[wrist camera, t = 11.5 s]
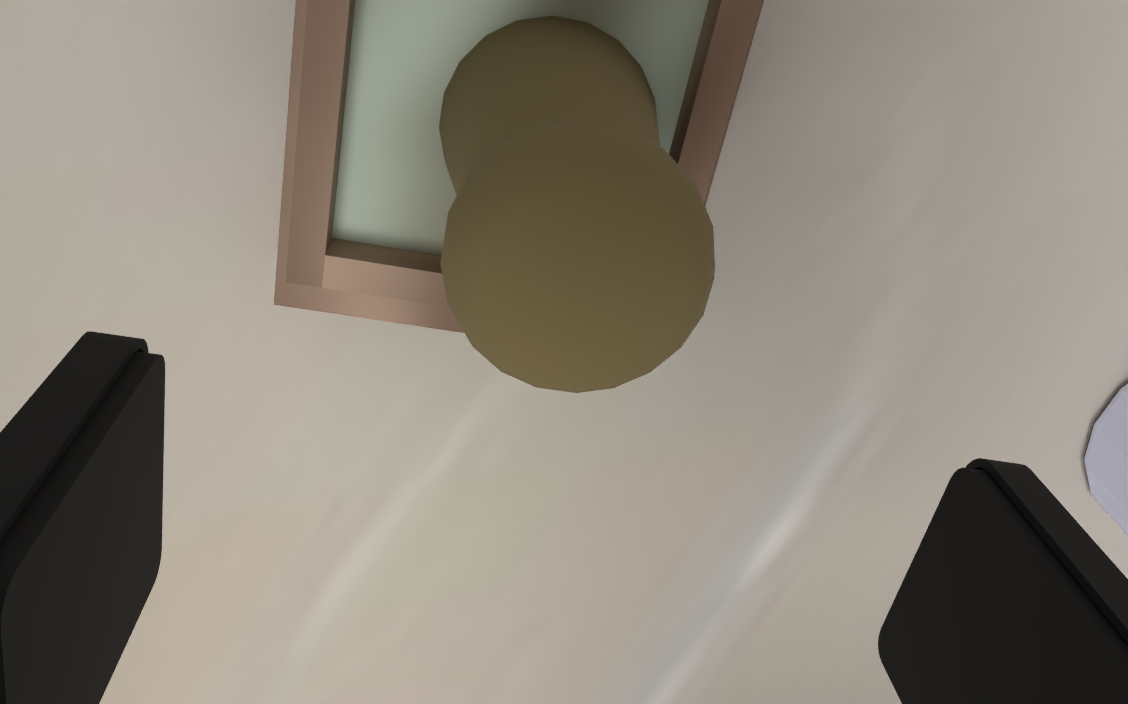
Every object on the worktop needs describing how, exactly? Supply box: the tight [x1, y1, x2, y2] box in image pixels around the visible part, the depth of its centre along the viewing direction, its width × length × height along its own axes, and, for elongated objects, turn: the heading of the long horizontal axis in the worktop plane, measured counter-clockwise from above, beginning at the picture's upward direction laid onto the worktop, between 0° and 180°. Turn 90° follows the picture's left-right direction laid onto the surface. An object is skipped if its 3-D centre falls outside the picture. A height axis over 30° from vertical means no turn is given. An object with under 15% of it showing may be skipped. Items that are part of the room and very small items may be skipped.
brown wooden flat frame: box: [274, 0, 764, 333], centre depth 27 cm, size 12×14×4 cm
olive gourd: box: [439, 16, 715, 393], centre depth 21 cm, size 6×6×11 cm
